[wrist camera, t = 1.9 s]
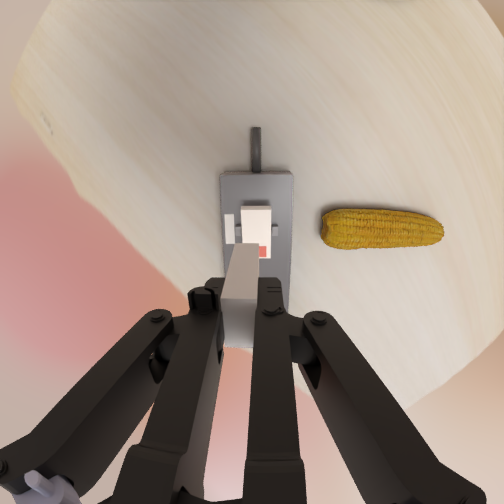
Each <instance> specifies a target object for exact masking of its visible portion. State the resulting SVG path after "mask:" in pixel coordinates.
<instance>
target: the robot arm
mask: <svg viewBox="0 0 504 504" xmlns="http://www.w3.org/2000/svg"><path fill="white" fill-rule="evenodd" d="M187 294H188V301H189V307H190V310H189V313H188V314H187V315H183V316H178V317H172V314H171V312H170V311H168V310H164V309H156V310H152V311H150V312H148V313H147V314H145V315H144V316H143V317H142V318H141V319H140V320H139V321H138V322H137V323H136V324H135V325H134V326H133V327H132V328H131V329H130V330H129V331H128V332H127V333H126V334H125V335H124V336H123V337H122V338H121V339H120V340H119V341H118V342H117V343H116V344H115V345H114V346H113V347H112V348H111V349H110V350H109V351H108V352H107V353H106V354H105V355H104V356H103V357H102V358H101V359H100V360H99V361H98V362H97V363H96V364H95V365H94V366H93V367H92V368H91V369H90V370H89V371H88V372H87V373H86V374H85V375H84V376H83V377H82V378H81V379H80V380H79V381H78V382H77V383H76V384H75V386H73V388H72V389H71V390H70V391H69V392H68V393H67V394H66V395H65V396H64V397H63V398H62V399H61V400H60V401H59V402H58V403H57V404H56V405H55V407H54V408H53V409H52V410H51V411H50V412H49V413H48V414H47V415H46V416H45V417H44V418H43V419H42V421H41V422H40V423H39V424H38V425H37V426H36V427H35V428H34V429H33V430H32V431H31V433H29V434H28V435H26V436H24V437H22V438H20V439H19V440H17V441H15V442H13V443H11V444H9V445H7V446H5V447H4V448H2V449H0V486H2V487H3V488H5V489H6V490H7V491H9V492H10V493H11V494H12V496H13V498H14V500H15V502H16V504H82V503H81V502H80V500H79V498H80V497H82V496H83V495H85V494H86V493H87V492H88V491H89V490H90V489H91V488H92V487H93V486H94V485H95V484H96V482H97V481H98V480H99V479H100V478H101V476H102V475H103V473H104V472H105V471H106V469H107V468H108V466H109V465H110V464H111V462H112V461H113V459H114V458H115V457H116V455H117V454H118V452H119V451H120V449H121V448H122V447H123V445H124V444H125V443H126V441H127V440H128V438H129V437H130V435H131V434H132V433H133V431H134V430H135V428H136V427H137V425H138V424H139V422H140V421H141V420H142V418H143V417H144V415H145V414H146V413H147V411H148V410H149V408H150V407H151V406H152V404H153V403H154V405H153V408H152V410H151V413H150V416H149V419H148V422H147V425H146V428H145V431H144V434H143V436H142V439H141V441H140V443H139V444H136V445H132V446H131V447H130V448H129V450H128V452H127V454H126V456H125V459H124V462H123V465H122V468H121V471H120V474H119V477H118V480H117V483H116V486H115V489H114V492H113V495H112V496H110V497H109V498H107V499H105V500H103V501H102V502H100V503H98V504H307V497H306V482H305V469H304V463H303V460H302V459H301V457H300V448H299V435H298V424H297V412H296V400H295V390H294V378H293V368H292V362H294V363H298V367H299V369H300V371H301V373H302V375H303V377H304V380H305V382H306V384H307V386H308V388H309V390H310V392H311V394H312V396H313V398H314V400H315V402H316V404H317V406H318V408H319V410H320V413H321V414H322V417H323V419H324V421H325V423H326V425H327V427H328V429H329V431H330V433H331V435H332V437H333V439H334V441H335V443H336V445H337V447H338V449H339V451H340V453H341V455H342V458H343V459H344V461H345V464H346V465H347V468H348V470H349V471H350V474H351V476H352V478H353V480H354V482H355V484H356V486H357V488H358V490H359V492H360V494H361V496H362V498H363V500H364V501H365V503H366V504H486V495H485V493H484V492H483V490H481V488H479V487H478V486H476V485H474V484H473V483H471V482H469V481H468V480H466V479H465V478H463V477H462V476H460V475H459V474H457V473H456V472H454V471H453V470H451V469H449V468H448V467H446V466H445V465H443V464H442V463H440V462H439V460H438V459H437V458H436V456H435V455H434V453H433V452H432V450H431V449H430V447H429V446H428V444H427V443H426V442H425V440H424V439H423V437H422V436H421V435H420V433H419V432H418V430H417V429H416V427H415V426H414V425H413V423H412V422H411V420H410V419H409V418H408V416H407V415H406V414H405V412H404V411H403V409H402V408H401V407H400V405H399V404H398V402H397V401H396V400H395V398H394V397H393V396H392V394H391V393H390V391H389V390H388V389H387V387H386V386H385V385H384V383H383V382H382V381H381V379H380V378H379V377H378V375H377V374H376V373H375V371H374V370H373V369H372V367H371V366H370V364H369V363H368V362H367V361H366V359H365V358H364V357H363V355H362V354H361V353H360V351H359V350H358V349H357V347H356V346H355V345H354V343H353V342H352V341H351V339H350V338H349V337H348V335H347V334H346V333H345V332H344V330H343V329H342V328H341V326H340V325H339V324H338V322H337V321H336V320H335V319H334V317H333V316H332V315H330V314H329V313H326V312H323V311H312V312H309V313H307V314H306V315H305V316H304V318H299V317H295V316H292V315H290V314H288V313H287V312H286V309H285V308H284V302H283V294H282V285H281V281H280V280H279V279H278V278H277V277H259V243H235V245H234V249H233V253H232V256H231V260H230V264H229V268H228V271H227V275H226V278H210V279H209V280H208V281H207V282H206V283H205V286H202V287H197V288H194V289H192V290H190V291H189V292H188V293H187ZM224 343H225V347H238V348H253V361H252V378H251V395H250V412H249V427H248V444H247V457H246V461H245V469H244V483H243V497H242V498H241V499H235V500H226V501H217V502H210V501H207V500H204V487H203V480H204V473H205V466H206V460H207V454H208V447H209V441H210V434H211V429H212V422H213V416H214V410H215V404H216V398H217V392H218V386H219V380H220V374H221V368H222V362H223V356H224V352H223V344H224ZM152 353H153V354H152ZM151 354H152V355H151ZM154 401H155V402H154Z"/></svg>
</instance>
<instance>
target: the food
mask: <svg viewBox="0 0 504 504" xmlns="http://www.w3.org/2000/svg"><path fill="white" fill-rule="evenodd" d="M322 220H323V229H322V234H321V239H322V240H323V241H324V243H325V244H326V245H328V246H330V247H333V248H337V249H344V250H351V249H358V248H366V249H367V248H392V247H393V248H395V247H415V246H416V247H418V246H423V245H424V246H428V245H432V244H435V243H437V242H439V241H441V238H442V237H443V236H444V231H443V228H444V227H443V226H442V224H441V223H439V222H438V221H437V220H435V219H434V218H431V217H428V216H425V215H421V214H417V213H411V212H402V211H391V210H383V209H382V210H376V209H374V210H373V209H351V208H350V209H348V208H347V209H338V210H333V211H331V212H329V213H326V214H325V215H324V216H323V217H322Z"/></svg>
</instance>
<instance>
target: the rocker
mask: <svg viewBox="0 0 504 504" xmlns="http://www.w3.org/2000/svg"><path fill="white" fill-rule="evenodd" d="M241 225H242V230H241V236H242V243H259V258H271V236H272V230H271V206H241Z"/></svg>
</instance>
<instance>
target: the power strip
mask: <svg viewBox="0 0 504 504" xmlns="http://www.w3.org/2000/svg"><path fill="white" fill-rule="evenodd" d="M251 134H252V171H247V172H224V173H222V174H221V175H220V196H221V217H222V235H223V253H224V268H225V278H226V275H227V271H228V268H229V264H230V260H231V256H232V253H233V249H234V245H235V243H242V236H241V230H242V225H241V206H271V230H272V236H271V258H259V277H277V278H278V279H279V280H280V281H281V285H282V294H283V302H284V308H285V309H286V312H287V313H288V303H289V286H290V266H291V242H292V210H293V174H292V173H291V172H288V171H261V128H260V127H253V128H251Z"/></svg>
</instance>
